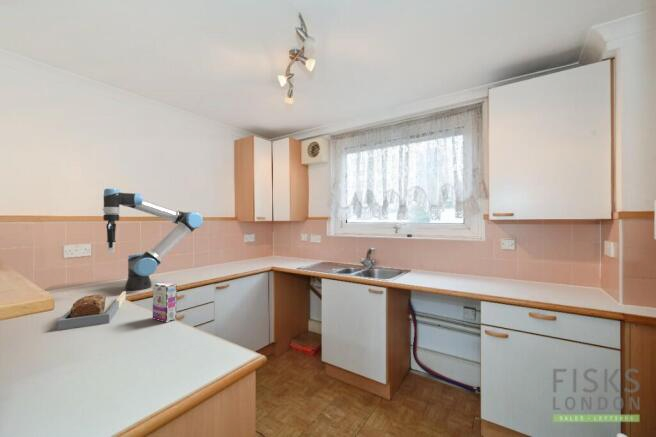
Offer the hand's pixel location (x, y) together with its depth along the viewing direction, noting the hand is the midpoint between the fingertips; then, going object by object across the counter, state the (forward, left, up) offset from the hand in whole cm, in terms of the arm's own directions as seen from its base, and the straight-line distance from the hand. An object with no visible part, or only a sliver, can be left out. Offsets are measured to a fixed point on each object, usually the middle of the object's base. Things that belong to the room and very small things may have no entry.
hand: (111, 253), depth 164 cm
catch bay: (0, +30, -26) cm, 40 cm away
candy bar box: (-30, +60, -27) cm, 72 cm away
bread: (+1, +40, -27) cm, 48 cm away
